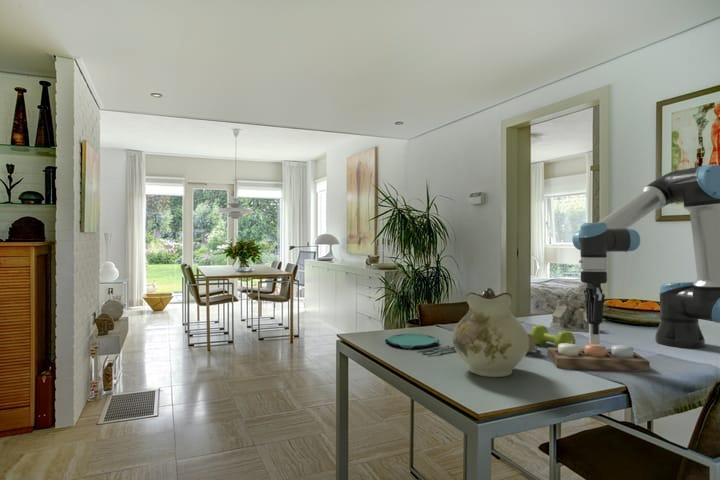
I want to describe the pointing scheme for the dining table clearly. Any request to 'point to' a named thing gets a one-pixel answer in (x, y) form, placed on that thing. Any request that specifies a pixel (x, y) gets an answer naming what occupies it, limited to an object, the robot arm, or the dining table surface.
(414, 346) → the cutlery set
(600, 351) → the terracotta button
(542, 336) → the dumbbell
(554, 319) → the ceramic cottage
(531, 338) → the ceramic mug
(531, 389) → the dining table surface
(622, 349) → the grey button
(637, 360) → the wooden compartment tray
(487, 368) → the pitcher
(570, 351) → the cream button
